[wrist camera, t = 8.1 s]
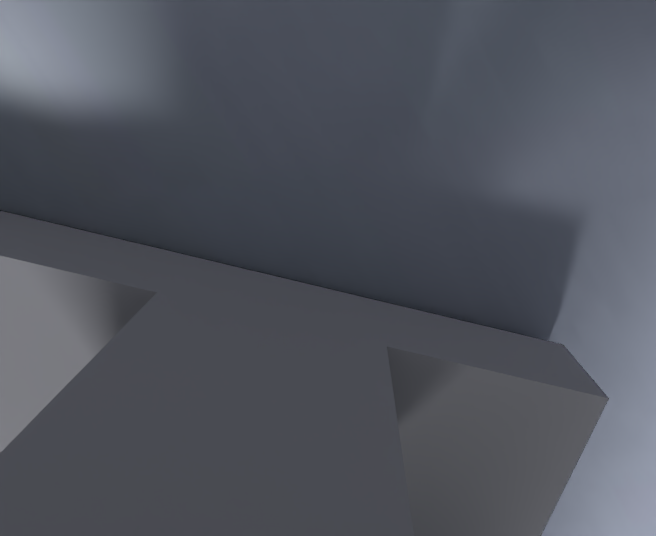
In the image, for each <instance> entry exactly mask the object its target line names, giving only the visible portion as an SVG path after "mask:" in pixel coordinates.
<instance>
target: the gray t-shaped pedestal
mask: <svg viewBox="0 0 656 536" xmlns="http://www.w3.org/2000/svg"><path fill="white" fill-rule="evenodd" d="M608 399H609V398H608V397H607V396H606V394H605V393H604V392H603V391H602V390H601V389H600V387H599V386H598V385H597V384H596V383H595V382H594V380H593V379H592V378H591V377H590V376H589V374H588V373H587V372H586V371H585V370H584V369H583V367H582V366H581V365H580V364H579V363H578V361H577V360H576V359H575V358H574V357H573V356H572V354H571V353H570V352H569V351H568V350H567V349H566V347H565V346H564V345H562V344H558V343H554V342H550V341H545V340H541V339H537V338H533V337H529V336H524V335H520V334H516V333H512V332H508V331H503V330H499V329H495V328H491V327H487V326H482V325H478V324H474V323H470V322H466V321H461V320H457V319H453V318H449V317H445V316H440V315H436V314H432V313H428V312H424V311H419V310H415V309H411V308H407V307H403V306H398V305H394V304H390V303H386V302H382V301H377V300H373V299H369V298H365V297H361V296H356V295H352V294H348V293H344V292H340V291H335V290H331V289H327V288H323V287H319V286H314V285H310V284H306V283H302V282H298V281H293V280H289V279H285V278H281V277H277V276H272V275H268V274H264V273H260V272H256V271H251V270H247V269H243V268H239V267H235V266H230V265H226V264H222V263H218V262H214V261H209V260H205V259H201V258H197V257H193V256H188V255H184V254H180V253H176V252H172V251H167V250H163V249H159V248H155V247H151V246H146V245H142V244H138V243H134V242H130V241H125V240H121V239H117V238H113V237H109V236H104V235H100V234H96V233H92V232H88V231H83V230H79V229H75V228H71V227H67V226H62V225H58V224H54V223H50V222H46V221H41V220H37V219H33V218H29V217H25V216H20V215H16V214H12V213H8V212H4V211H0V536H541V534H542V532H543V530H544V528H545V526H546V524H547V522H548V520H549V518H550V516H551V514H552V512H553V510H554V508H555V506H556V504H557V502H558V500H559V498H560V496H561V494H562V492H563V490H564V488H565V486H566V484H567V482H568V480H569V478H570V476H571V474H572V472H573V470H574V468H575V466H576V464H577V462H578V460H579V458H580V456H581V454H582V452H583V450H584V448H585V446H586V444H587V442H588V440H589V438H590V436H591V434H592V432H593V430H594V428H595V426H596V424H597V421H598V419H599V417H600V415H601V413H602V411H603V409H604V407H605V405H606V403H607V401H608Z"/></svg>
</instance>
